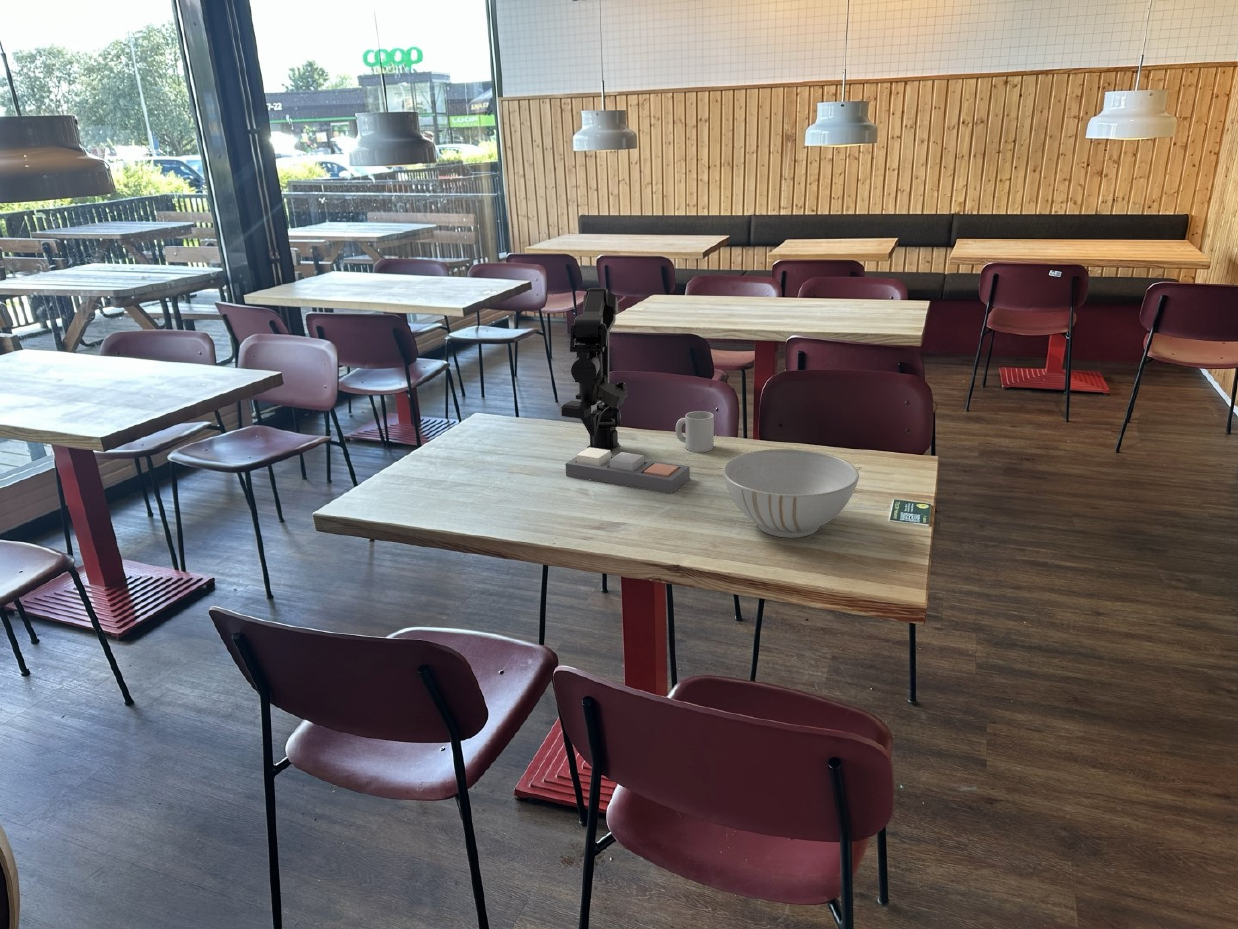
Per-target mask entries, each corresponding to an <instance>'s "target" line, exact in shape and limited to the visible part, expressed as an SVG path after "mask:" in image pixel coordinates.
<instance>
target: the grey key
mask: <svg viewBox="0 0 1238 929" xmlns="http://www.w3.org/2000/svg"><path fill="white" fill-rule="evenodd" d="M615 455H616V456H615V457H613V458H612V459H610V460H609V461H610V468H613V469H620V470H626V471H632V472H635V471H636V470H637V469H639V468H640V467H642V466H643V465H644V459H645V458H644V457H645V455H644V454H643V455H642V454H636V453H630V452H623V451H621V452H619V453H618V454H615Z"/></svg>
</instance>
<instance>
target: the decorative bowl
mask: <svg viewBox="0 0 1238 929" xmlns="http://www.w3.org/2000/svg"><path fill="white" fill-rule="evenodd" d="M722 476H723V480H724V483H725V484H724V485H725V486H726V489H727V491H728V493H729V495H730V498H731V499H732V501H733V502H734V503H735V505H736V507H737V508H738V509H739V510H740V511H741V513H742V514H743V515H745V517H747V518H748V519H750V521H752V522H753V523H755V524H757V527H758V528H759V529H760V530H761V531H762V532H764V533H765V534H768V535H771V536H774V537H778V538H779V537H780V538H788V539H789V538H790V539H794V538H795V539H796V538H802V537H807V536H810V535H813V534H814V533H815V532H817V531H818V530H819V528H820V527H823V526H824V525H825V524H827V523H829V522H830V521H832V520H833V519H834V518H836V517H837V516H838V515H839V514H840V513H841V512H842V510H843V509H844V508H845V507H846V506H847V504H848V503H849V502H850V500H851V498H852V496H853V495H854V492H855V490H856V488H857V486H858V483H859V479H860V473H859V471H858V469H857V468H856V466H855V465H853V464H852V463H850V462H849V461H848V460H846V459H843V458H842V457H839V456H835V455H834V454H829V453H825V452H820V451H815V450H810V449H800V448H799V449H798V448H772V449H770V448H769V449H761V450H755V451H749V452H746V453H743V454H740V455H737V456H734V457H732V458H731V459H730V460H728V461H727V462H726V463H725V464H724V465H723V467H722Z"/></svg>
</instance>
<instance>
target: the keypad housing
mask: <svg viewBox="0 0 1238 929" xmlns="http://www.w3.org/2000/svg"><path fill="white" fill-rule="evenodd" d="M616 455H617V454H612V453H611V459H612V458H613V457H615V456H616ZM655 463H658V464H665V465H671V466H678V470H677V471H676V472H675V473H673V474H672V475H671V476H670V477H664V476H657V475H651V474H645V473H644V471H645V470H646V469H648V468H649V467H651V466H652V465H653V464H655ZM690 468H691V466H690V465H685V464H679V463H678V464H677V463H670V462H664V461H657V460H652V459H651V460H650V459H646V458H644V465H643V466H642V467H640V468H639V469H637V470H636V471H635V472H632V471H626V470H620V469H613V468H610V461H608V462H606V463H605V464H603V465H602V466H594V465H588V464H582V463H577V456H575V457H573V458H571V460H569V461H567V462H565V476H566V477H571V478H576V479H582V480H588V479H591V480H590V481H594V480H596V481H595V482H600V481H601V483H606V482H607V483H608V484H612V485H613V484H614V485H620V486H624V485H627V486H626V487H629V486H631V488H637V489H643V490H649V491H654V492H660V493H666V494H667V493H668V494H671V495H672V494H673V493H674V492H676V491H677V490H678V489H680V488H681V487H682V486H683V485H685V484H686V483H687V482H688V481H690V480H691V477H690V475H691V473H690V472H691V471H690V470H691V469H690ZM607 483H606V484H607Z"/></svg>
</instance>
